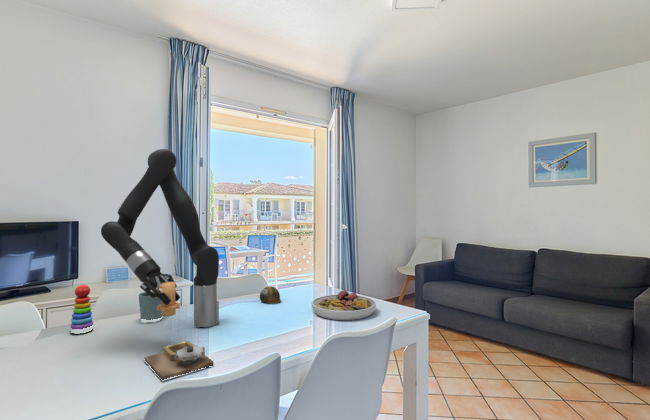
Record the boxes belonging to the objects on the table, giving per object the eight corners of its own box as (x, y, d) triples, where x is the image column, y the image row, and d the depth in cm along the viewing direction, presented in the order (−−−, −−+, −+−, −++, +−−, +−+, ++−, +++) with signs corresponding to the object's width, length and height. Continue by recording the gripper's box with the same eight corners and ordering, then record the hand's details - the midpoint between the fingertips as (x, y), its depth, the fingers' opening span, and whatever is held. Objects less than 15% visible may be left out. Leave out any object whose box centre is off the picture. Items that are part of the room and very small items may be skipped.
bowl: (379, 322, 151) (379, 304, 151) (309, 322, 152) (309, 304, 152) (371, 304, 181) (371, 288, 181) (313, 304, 182) (313, 288, 182)
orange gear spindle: (176, 310, 129) (175, 279, 129) (183, 314, 123) (183, 283, 123) (154, 314, 124) (153, 283, 124) (160, 319, 118) (160, 286, 118)
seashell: (255, 302, 185) (255, 287, 185) (269, 298, 192) (268, 284, 192) (270, 305, 178) (270, 290, 178) (284, 302, 185) (283, 286, 185)
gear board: (191, 349, 123) (191, 331, 123) (213, 366, 109) (213, 346, 109) (144, 361, 113) (144, 342, 113) (162, 382, 99) (162, 360, 99)
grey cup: (145, 325, 148) (145, 297, 148) (134, 321, 154) (134, 293, 154) (168, 319, 156) (168, 292, 156) (157, 315, 162) (156, 289, 162)
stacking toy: (65, 336, 136) (65, 287, 136) (74, 329, 143) (74, 283, 143) (89, 334, 138) (89, 286, 138) (96, 327, 146) (96, 282, 146)
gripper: (134, 261, 118) (166, 299, 115) (163, 255, 132) (192, 289, 129) (121, 276, 119) (152, 314, 117) (151, 269, 133) (179, 303, 131)
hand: (173, 301), depth 123 cm, fingers closed on orange gear spindle, 4 cm apart
